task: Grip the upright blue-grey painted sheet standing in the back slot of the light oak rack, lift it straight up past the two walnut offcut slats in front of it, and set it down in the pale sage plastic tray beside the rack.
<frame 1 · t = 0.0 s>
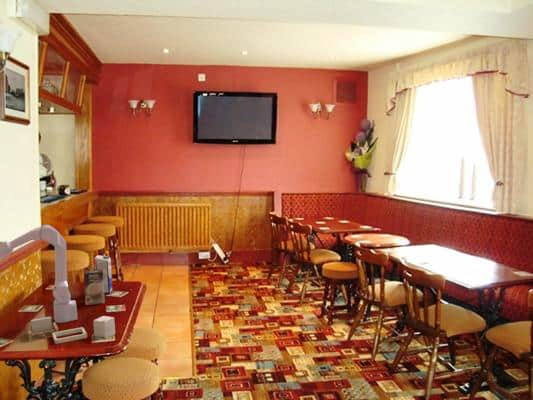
offcut a: (50, 335, 208), point 1 cm above the table, touching rack
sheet: (42, 332, 211), point 1 cm above the table, touching rack
milk carton: (104, 292, 271), on the table
offcut b: (37, 338, 205), point 1 cm above the table, touching rack
skincare box: (104, 336, 209), on the table
tray: (69, 339, 206), on the table
rack: (43, 336, 210), on the table
coffee box: (95, 302, 254), on the table
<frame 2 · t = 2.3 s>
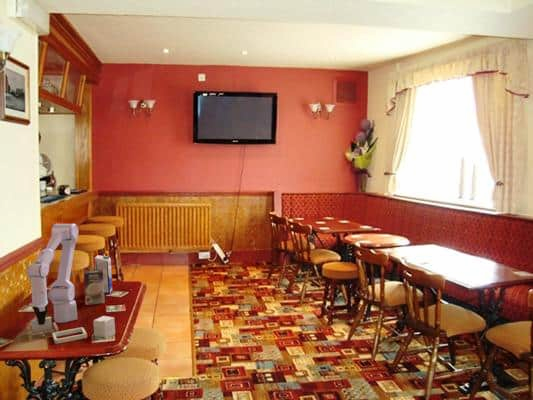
hand: (41, 323, 211), 5 cm above the table, tool pointing down, fingers closed on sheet, 2 cm apart
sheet: (42, 332, 211), point 1 cm above the table, touching gripper, rack
everything else where it was.
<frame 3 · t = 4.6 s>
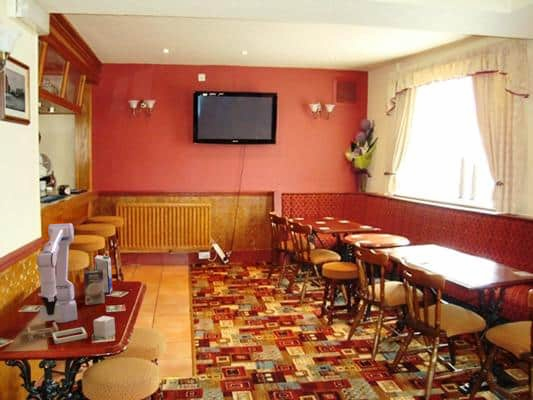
hand: (50, 314, 208), 9 cm above the table, tool pointing down, fingers closed on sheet
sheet: (50, 319, 208), point 7 cm above the table, touching gripper
everything else where it was.
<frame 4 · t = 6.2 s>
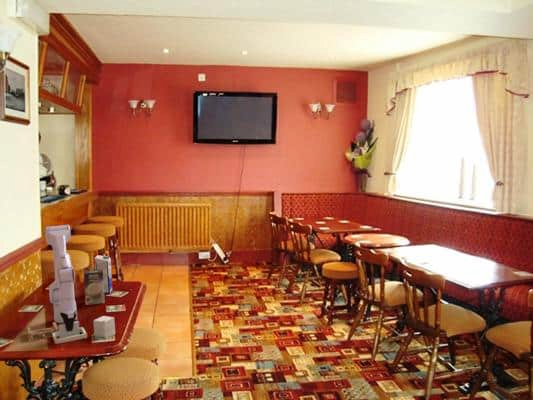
hand: (69, 330, 205), 4 cm above the table, tool pointing down, fingers closed on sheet, 1 cm apart
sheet: (69, 337, 206), point 1 cm above the table, touching gripper, tray
everything else where it was.
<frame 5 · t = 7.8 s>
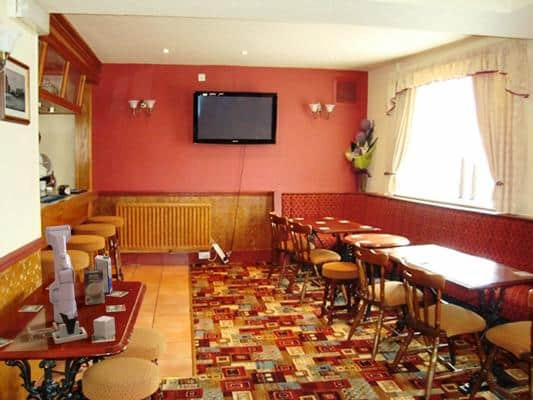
hand: (69, 331, 205), 3 cm above the table, tool pointing down, fingers open, 7 cm apart
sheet: (69, 337, 206), point 1 cm above the table, touching tray
everything else where it was.
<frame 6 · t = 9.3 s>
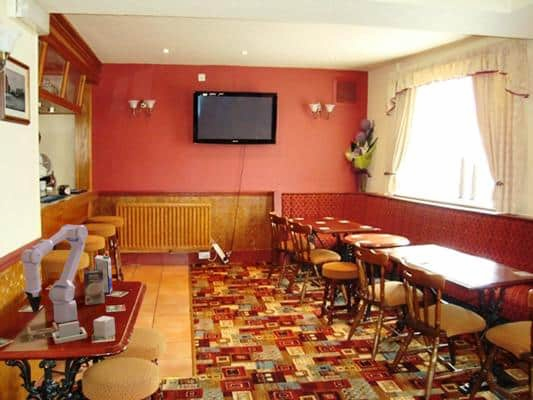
hand: (34, 309, 212), 10 cm above the table, tool pointing down, fingers open, 7 cm apart
nothing on the table moved.
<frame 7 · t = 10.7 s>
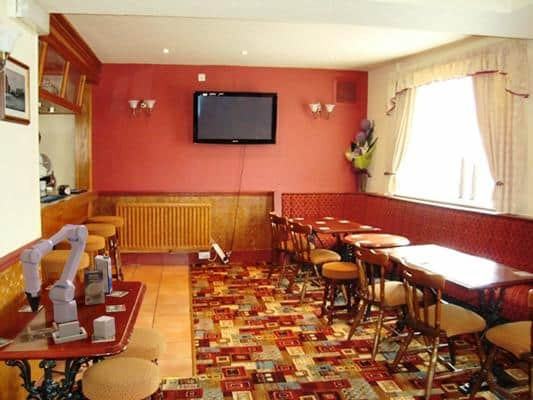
hand: (34, 309, 213), 10 cm above the table, tool pointing down, fingers open, 7 cm apart
nothing on the table moved.
at the end: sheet inside the target area on the tray (0.0 cm from its centre), point 0.6 cm above the tray's base; the gripper is holding nothing; offcut a point 0.8 cm above the table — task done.
